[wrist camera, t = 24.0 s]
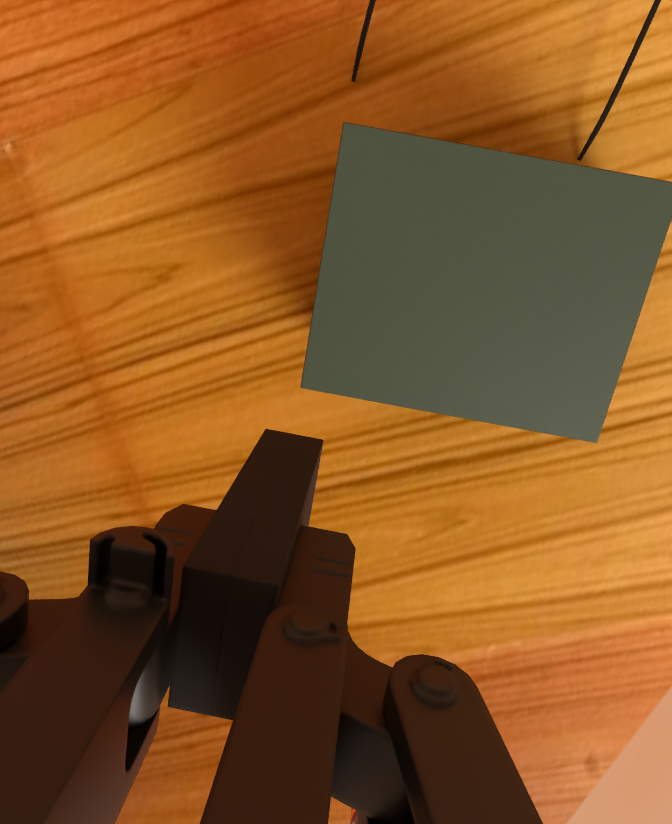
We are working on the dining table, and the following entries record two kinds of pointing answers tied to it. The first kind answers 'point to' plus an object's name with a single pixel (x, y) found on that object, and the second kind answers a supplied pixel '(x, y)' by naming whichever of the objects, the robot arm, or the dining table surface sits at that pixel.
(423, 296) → the lid
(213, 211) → the dining table surface
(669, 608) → the dining table surface
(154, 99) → the dining table surface
